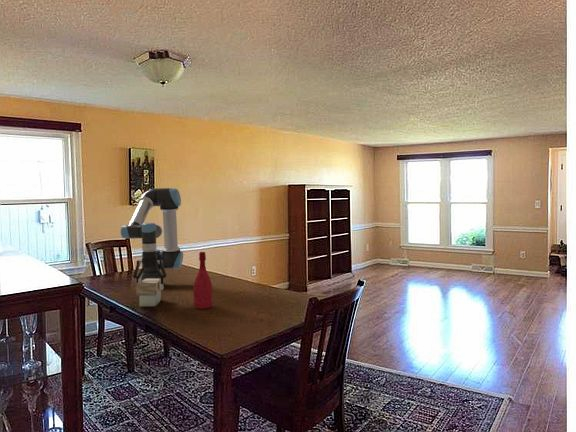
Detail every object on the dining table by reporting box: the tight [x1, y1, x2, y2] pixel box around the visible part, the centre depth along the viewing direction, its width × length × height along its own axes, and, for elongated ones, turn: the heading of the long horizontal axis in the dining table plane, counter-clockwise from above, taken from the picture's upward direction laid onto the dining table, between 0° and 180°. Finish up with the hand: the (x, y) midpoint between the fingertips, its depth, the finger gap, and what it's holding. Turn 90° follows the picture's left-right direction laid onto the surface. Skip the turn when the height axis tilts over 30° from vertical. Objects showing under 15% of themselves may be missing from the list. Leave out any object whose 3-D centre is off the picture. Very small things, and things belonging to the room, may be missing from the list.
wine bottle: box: [193, 251, 213, 310], centre depth 229 cm, size 10×10×30 cm
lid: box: [135, 278, 165, 296], centre depth 238 cm, size 15×10×6 cm, turn 178°
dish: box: [138, 290, 162, 307], centre depth 238 cm, size 13×8×6 cm, turn 4°
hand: (150, 290), depth 238 cm, fingers open, 11 cm apart
